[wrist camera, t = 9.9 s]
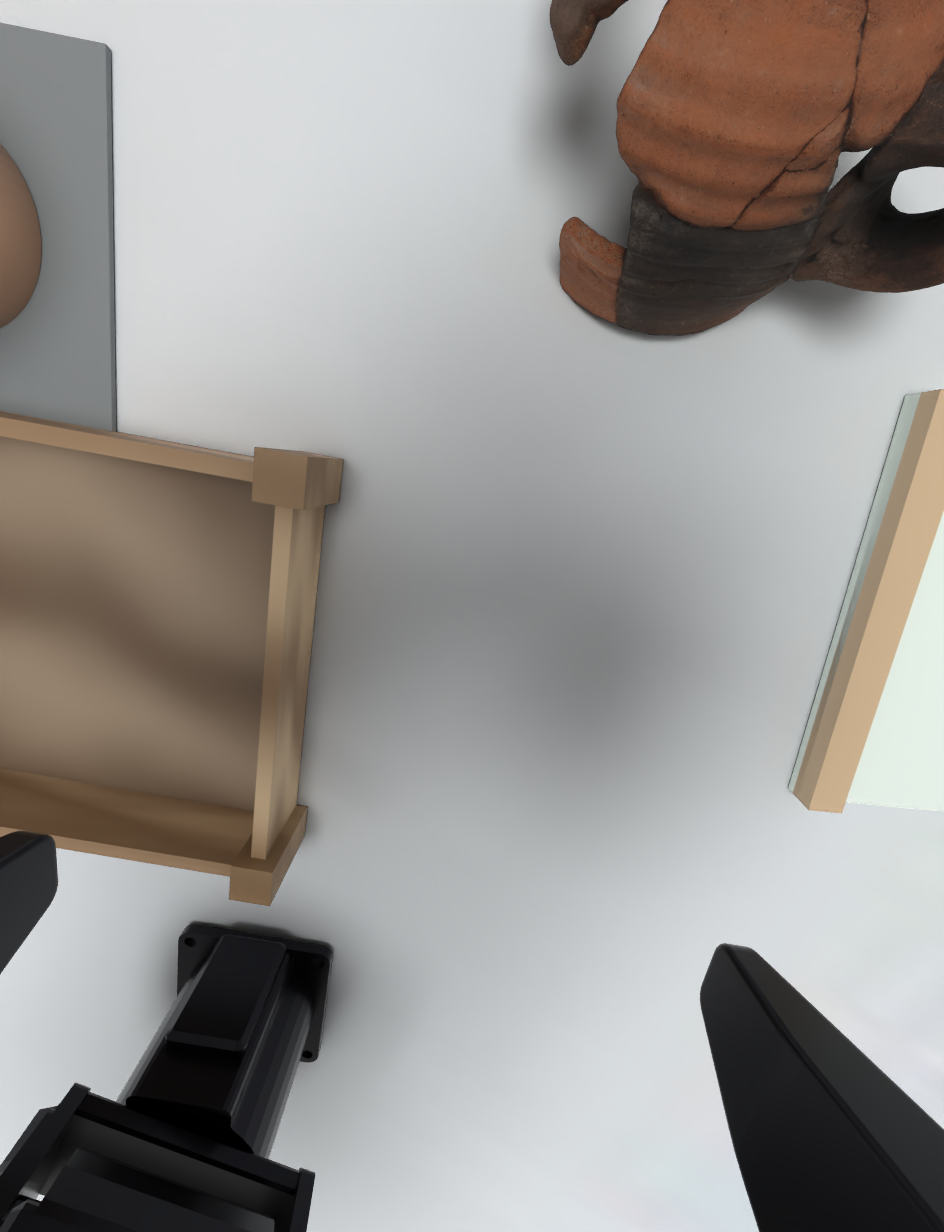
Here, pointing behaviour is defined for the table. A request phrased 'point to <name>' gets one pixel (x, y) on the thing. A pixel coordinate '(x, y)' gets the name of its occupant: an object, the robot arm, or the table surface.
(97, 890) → the table surface
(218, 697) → the brown wooden tray
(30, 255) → the terracotta pot
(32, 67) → the slate mat
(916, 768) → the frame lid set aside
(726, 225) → the brown creature figurine
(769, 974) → the robot arm
